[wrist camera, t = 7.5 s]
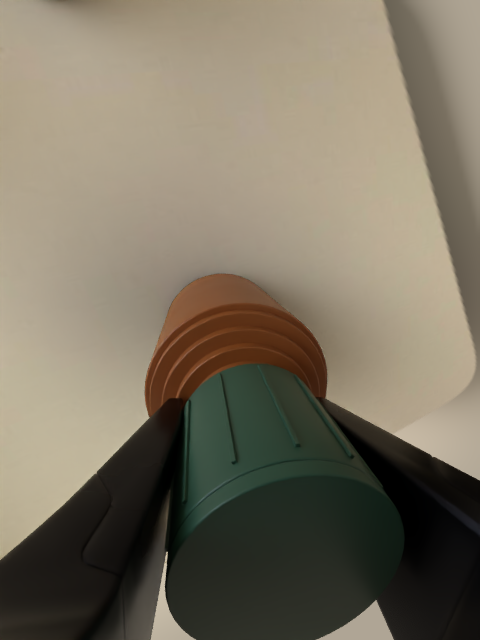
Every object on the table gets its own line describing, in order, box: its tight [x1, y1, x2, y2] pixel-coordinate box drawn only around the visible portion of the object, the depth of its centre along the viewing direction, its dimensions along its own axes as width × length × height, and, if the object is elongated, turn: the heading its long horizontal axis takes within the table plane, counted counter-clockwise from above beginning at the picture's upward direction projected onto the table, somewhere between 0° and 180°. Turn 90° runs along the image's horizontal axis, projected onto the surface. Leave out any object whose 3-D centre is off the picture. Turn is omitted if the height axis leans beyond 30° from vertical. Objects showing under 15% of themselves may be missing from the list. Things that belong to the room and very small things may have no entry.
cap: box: [164, 363, 405, 640], centre depth 6 cm, size 4×4×4 cm
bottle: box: [145, 274, 327, 417], centre depth 11 cm, size 6×6×12 cm
